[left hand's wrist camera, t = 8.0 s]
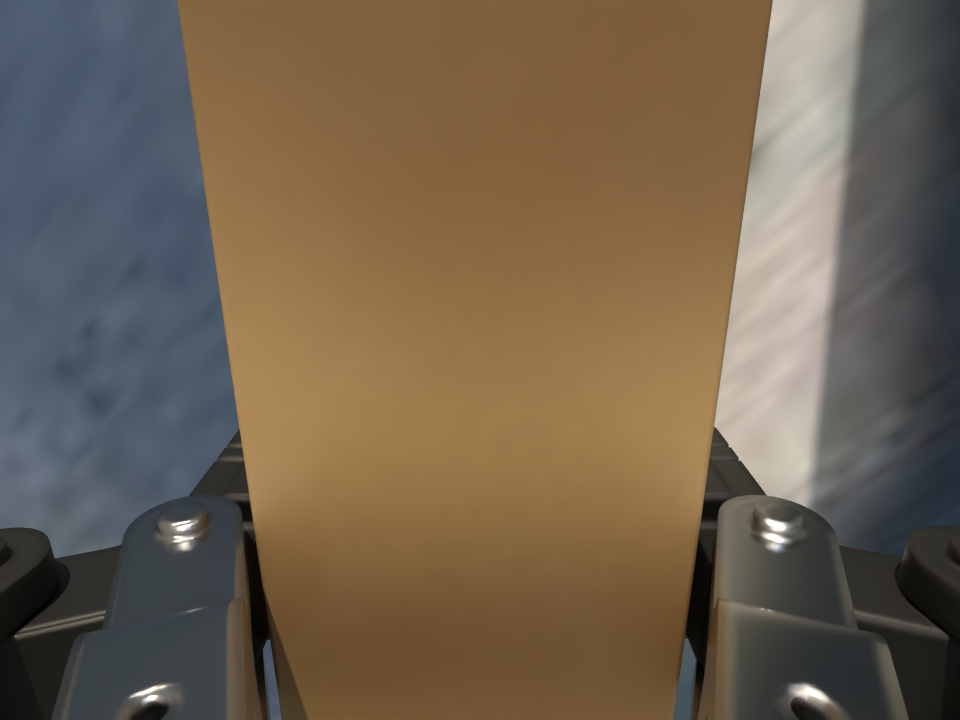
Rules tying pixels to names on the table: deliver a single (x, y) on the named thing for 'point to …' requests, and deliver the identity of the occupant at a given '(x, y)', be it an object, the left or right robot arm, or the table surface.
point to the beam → (476, 335)
